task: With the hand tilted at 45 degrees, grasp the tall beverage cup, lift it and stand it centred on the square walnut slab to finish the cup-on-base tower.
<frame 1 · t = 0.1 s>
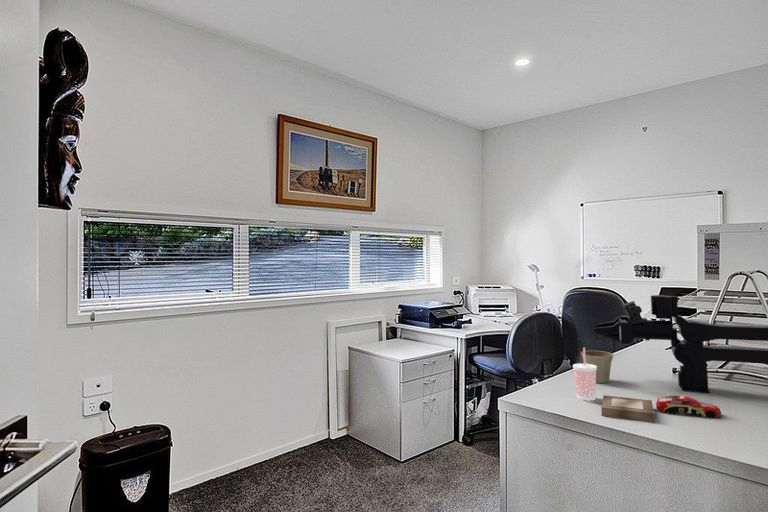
hand: (594, 328, 141), 17 cm above the table, tool horizontal, fingers open, 9 cm apart
flower pot: (598, 381, 140), on the table
beverage cup: (586, 399, 123), on the table
walnut slab: (627, 411, 111), on the table
race car: (687, 414, 109), on the table
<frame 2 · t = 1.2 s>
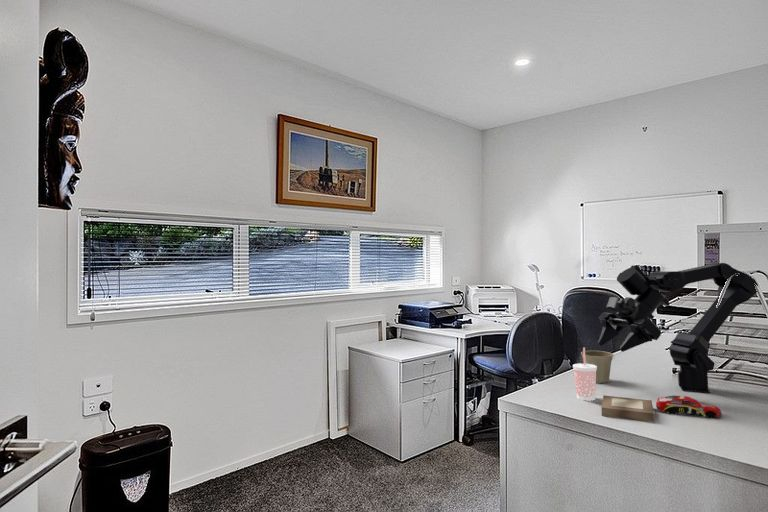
hand: (609, 347, 124), 14 cm above the table, tool tilted 45°, fingers open, 9 cm apart
nothing on the table moved.
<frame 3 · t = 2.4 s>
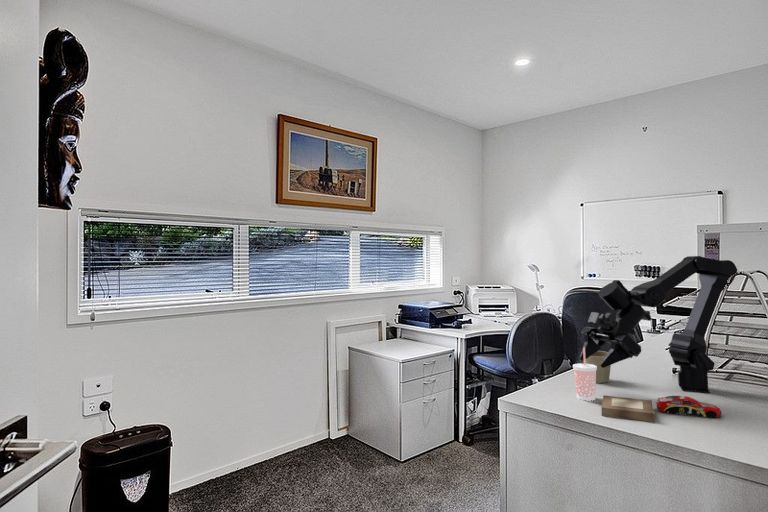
hand: (590, 363, 123), 10 cm above the table, tool tilted 45°, fingers open, 9 cm apart
nothing on the table moved.
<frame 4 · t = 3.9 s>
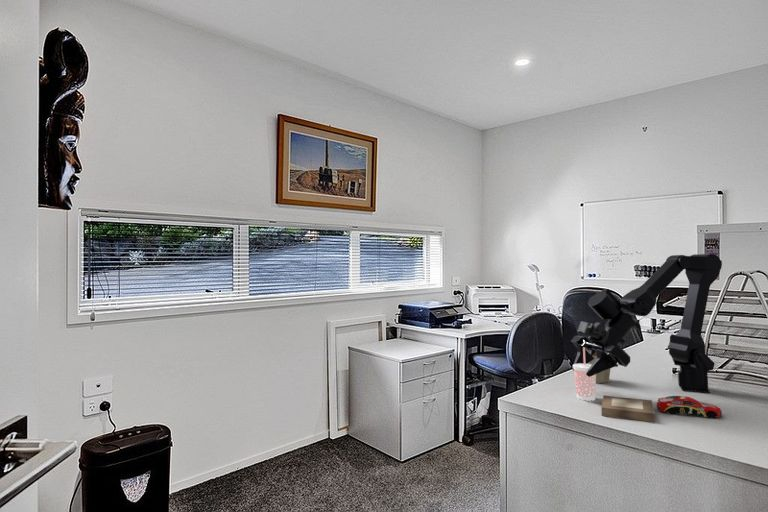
hand: (580, 372, 123), 7 cm above the table, tool tilted 45°, fingers closed on beverage cup, 6 cm apart
beverage cup: (586, 399, 123), on the table, touching gripper
everything else where it was.
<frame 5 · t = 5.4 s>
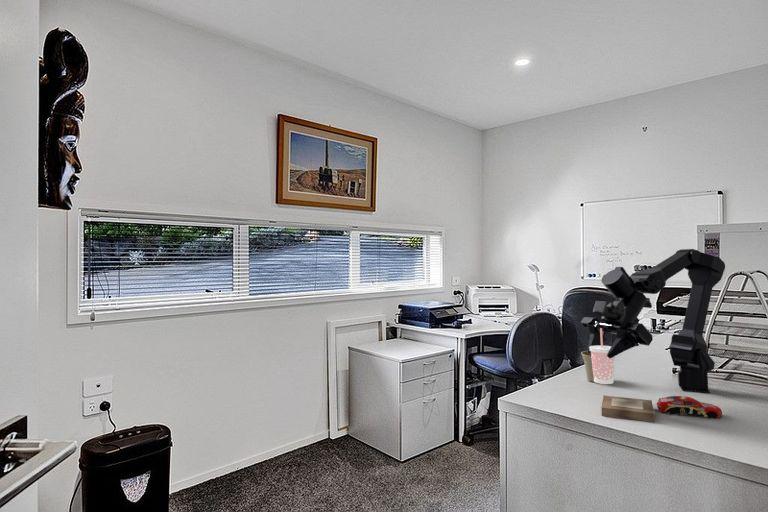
hand: (598, 355, 117), 13 cm above the table, tool tilted 45°, fingers closed on beverage cup, 6 cm apart
beverage cup: (603, 382, 117), point 6 cm above the table, touching gripper
everything else where it was.
when the fingers open (10 cm above the table, at t = 7.0 s): beverage cup stays where it is, resting on walnut slab.
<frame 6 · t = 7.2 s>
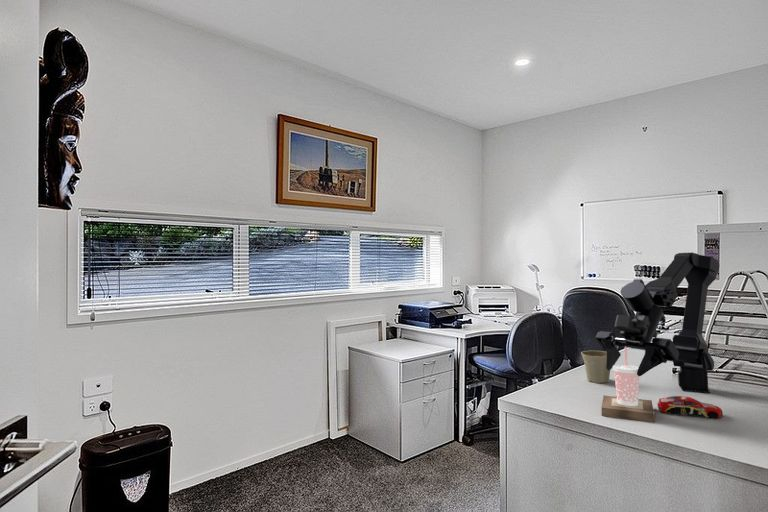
hand: (622, 372, 111), 10 cm above the table, tool tilted 45°, fingers open, 7 cm apart
beverage cup: (627, 404, 111), point 2 cm above the table, touching walnut slab
everything else where it was.
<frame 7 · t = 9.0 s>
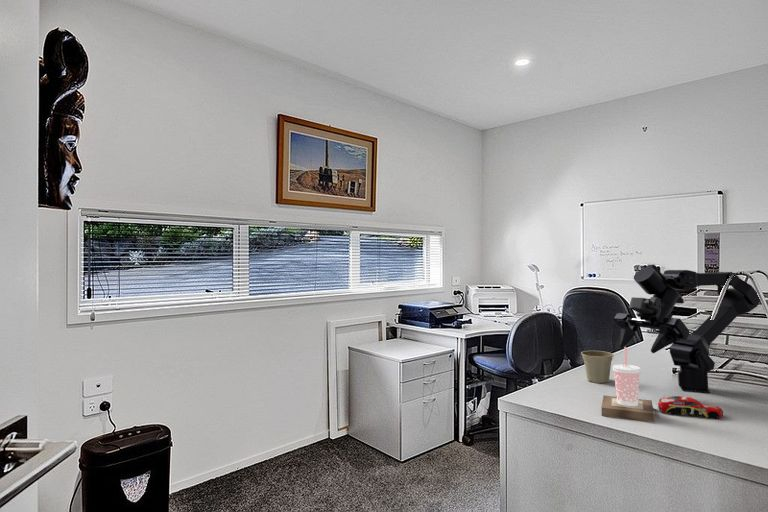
hand: (636, 349, 121), 13 cm above the table, tool tilted 45°, fingers open, 9 cm apart
nothing on the table moved.
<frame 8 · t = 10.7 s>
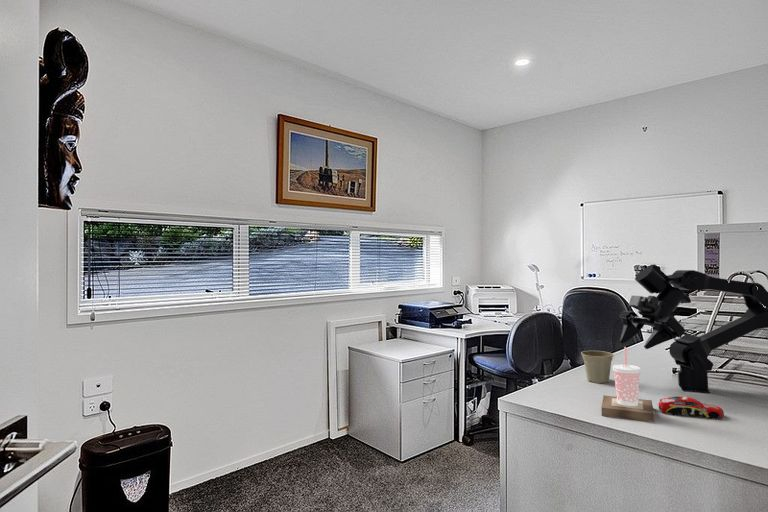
hand: (632, 345, 126), 14 cm above the table, tool tilted 45°, fingers open, 9 cm apart
nothing on the table moved.
at the end: beverage cup inside the target area on the walnut slab (0.1 cm from its centre), point 1.9 cm above the walnut slab's base; beverage cup tilted 0°; the gripper is holding nothing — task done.
